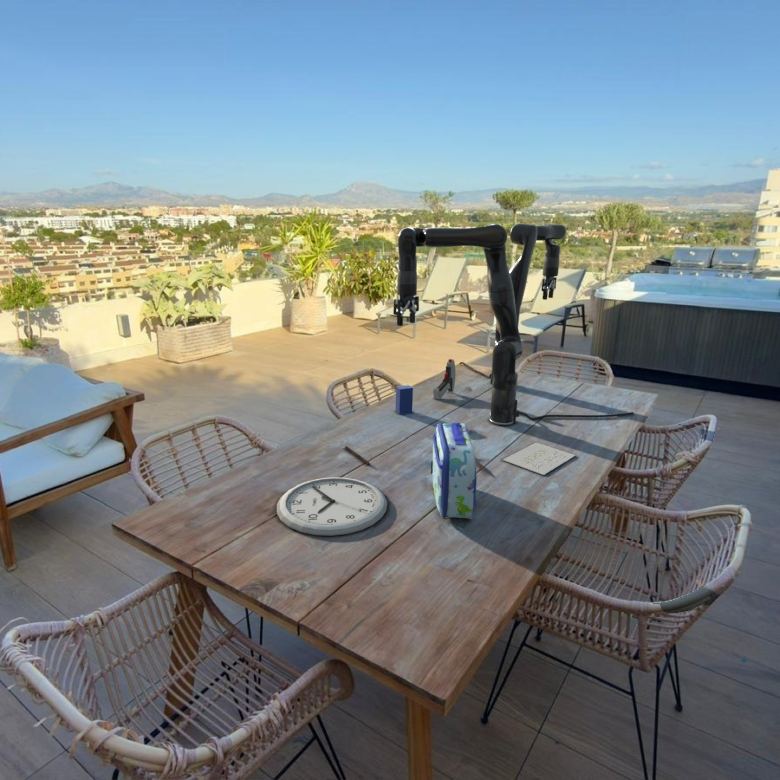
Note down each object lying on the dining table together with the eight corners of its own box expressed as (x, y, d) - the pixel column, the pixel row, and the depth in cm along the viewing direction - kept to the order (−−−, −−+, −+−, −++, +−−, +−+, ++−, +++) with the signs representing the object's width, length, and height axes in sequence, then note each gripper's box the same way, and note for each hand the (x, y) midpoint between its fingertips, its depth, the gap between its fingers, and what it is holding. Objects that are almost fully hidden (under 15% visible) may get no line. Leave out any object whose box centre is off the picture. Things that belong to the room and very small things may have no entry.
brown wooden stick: (344, 448, 179) (344, 445, 179) (346, 448, 179) (346, 445, 179) (367, 464, 167) (367, 462, 167) (368, 464, 167) (368, 461, 167)
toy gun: (433, 366, 227) (451, 357, 238) (433, 400, 233) (450, 390, 244) (438, 367, 226) (455, 358, 237) (438, 401, 232) (455, 391, 243)
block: (395, 411, 216) (395, 386, 213) (408, 409, 219) (408, 385, 215) (399, 414, 213) (400, 389, 210) (412, 412, 215) (413, 387, 212)
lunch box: (429, 478, 158) (432, 413, 152) (464, 479, 158) (468, 414, 152) (435, 525, 134) (438, 450, 127) (477, 526, 133) (482, 451, 127)
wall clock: (392, 527, 129) (268, 531, 127) (391, 533, 130) (269, 537, 127) (383, 473, 158) (282, 475, 155) (383, 478, 158) (282, 480, 156)
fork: (483, 474, 162) (483, 469, 161) (463, 454, 176) (463, 448, 176) (491, 474, 162) (491, 468, 162) (470, 453, 177) (470, 447, 176)
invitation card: (535, 442, 186) (575, 454, 176) (535, 442, 187) (575, 455, 176) (502, 459, 172) (543, 474, 162) (502, 460, 172) (543, 475, 162)
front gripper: (409, 280, 207) (408, 320, 212) (388, 282, 196) (387, 325, 201) (425, 281, 203) (423, 323, 208) (404, 284, 192) (403, 328, 197)
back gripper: (548, 265, 270) (545, 296, 275) (538, 266, 259) (535, 299, 263) (563, 265, 266) (559, 298, 270) (553, 267, 254) (550, 300, 259)
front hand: (406, 324), depth 205 cm, fingers open, 8 cm apart
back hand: (547, 298), depth 267 cm, fingers open, 8 cm apart
